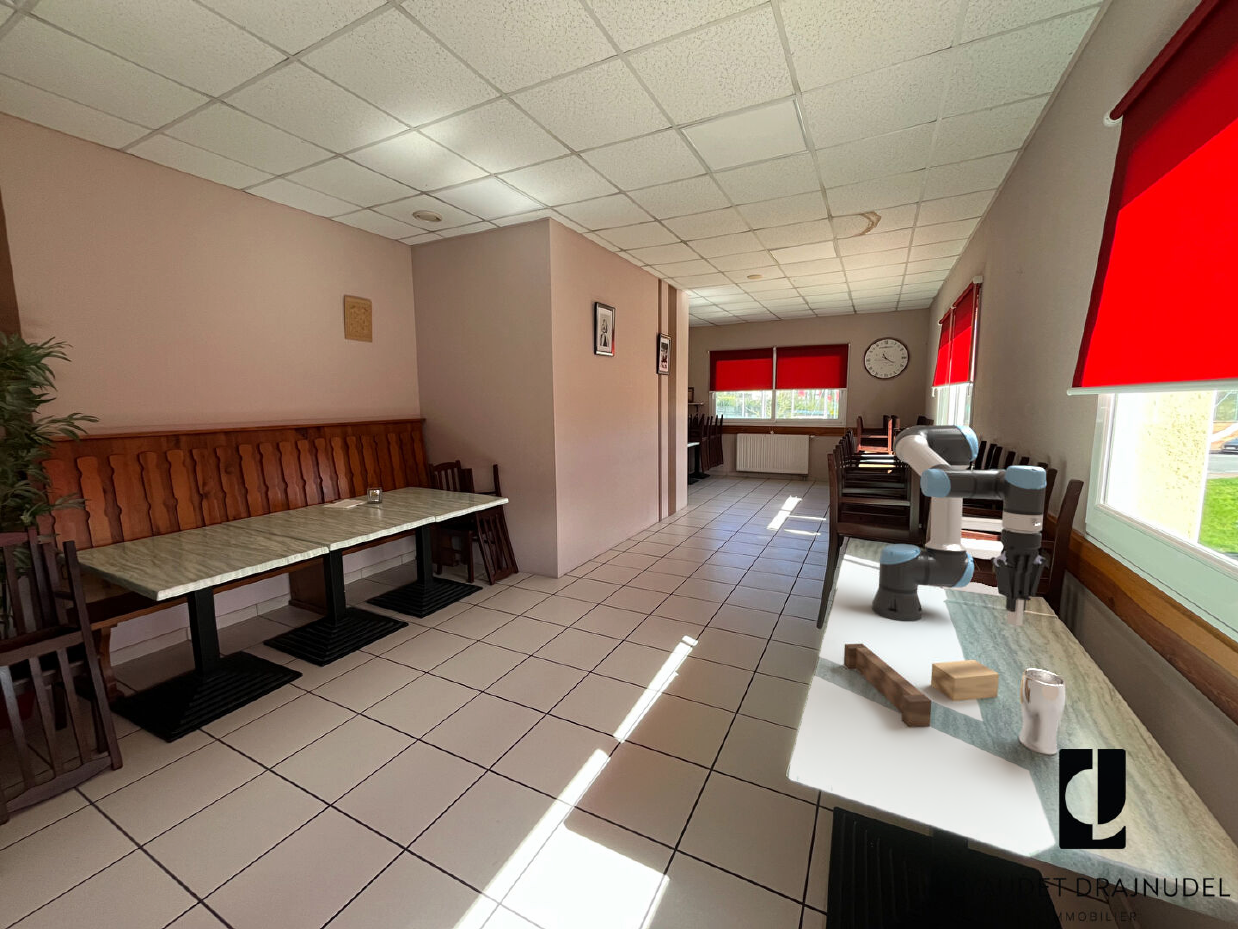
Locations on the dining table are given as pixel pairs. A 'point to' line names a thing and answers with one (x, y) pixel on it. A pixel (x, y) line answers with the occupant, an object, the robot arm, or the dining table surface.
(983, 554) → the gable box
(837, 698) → the dining table surface
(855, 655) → the brown wooden bar
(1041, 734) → the silver metal tumbler
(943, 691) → the oak block
